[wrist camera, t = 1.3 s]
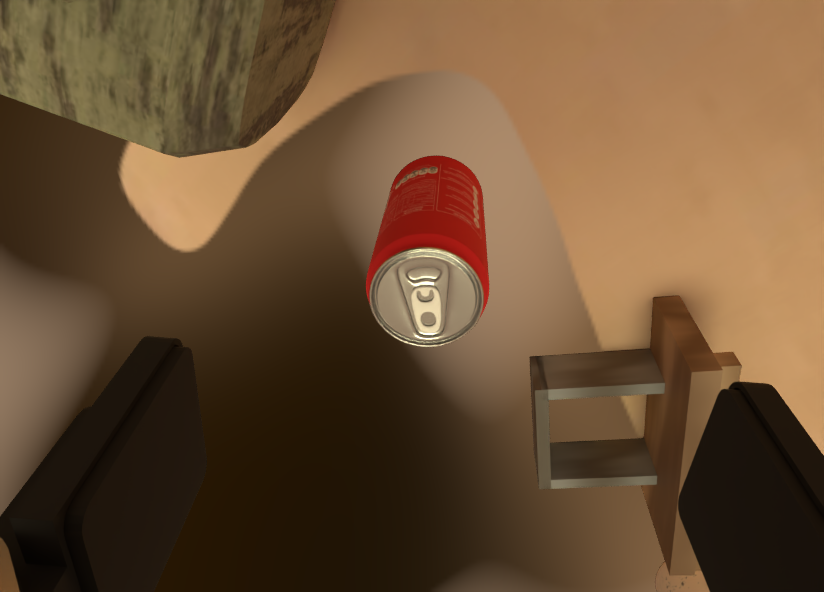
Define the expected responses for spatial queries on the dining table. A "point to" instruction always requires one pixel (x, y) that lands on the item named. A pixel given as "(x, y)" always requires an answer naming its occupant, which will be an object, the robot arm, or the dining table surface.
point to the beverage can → (430, 255)
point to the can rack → (664, 423)
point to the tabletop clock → (163, 65)
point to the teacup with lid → (679, 582)
